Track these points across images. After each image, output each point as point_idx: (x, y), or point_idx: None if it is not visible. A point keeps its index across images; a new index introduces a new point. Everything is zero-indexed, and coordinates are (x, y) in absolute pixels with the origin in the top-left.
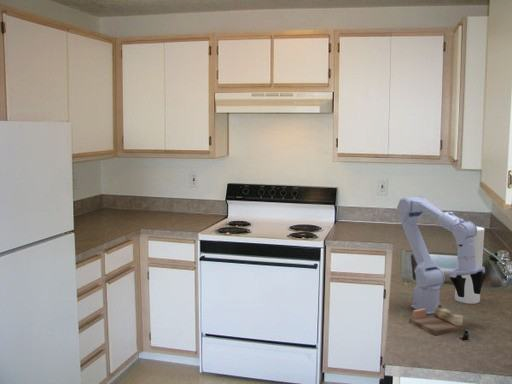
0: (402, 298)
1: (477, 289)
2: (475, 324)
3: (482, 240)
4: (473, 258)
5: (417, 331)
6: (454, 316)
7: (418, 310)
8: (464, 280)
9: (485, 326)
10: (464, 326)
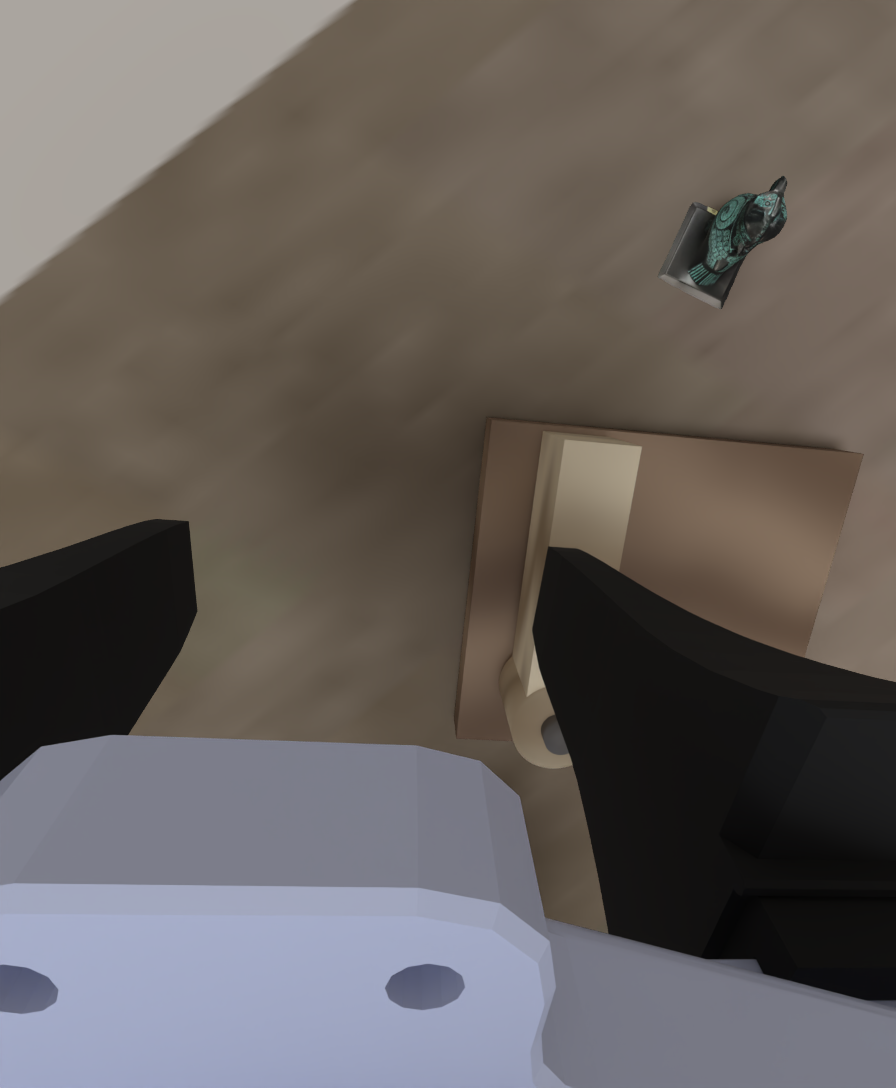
0: None
1: (154, 584)
2: (314, 455)
3: None
4: None
5: (867, 579)
6: (629, 494)
7: None
8: (780, 684)
9: (268, 373)
10: (519, 421)
